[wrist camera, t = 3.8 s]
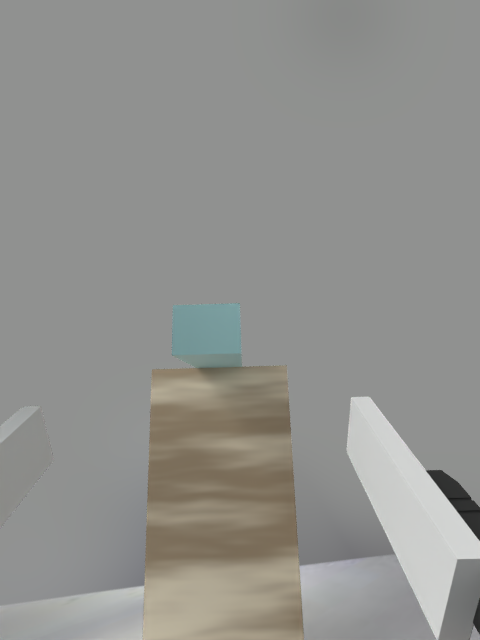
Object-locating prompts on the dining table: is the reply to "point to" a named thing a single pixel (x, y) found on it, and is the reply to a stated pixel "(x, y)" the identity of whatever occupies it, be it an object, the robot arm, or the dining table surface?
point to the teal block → (207, 335)
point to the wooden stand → (221, 507)
